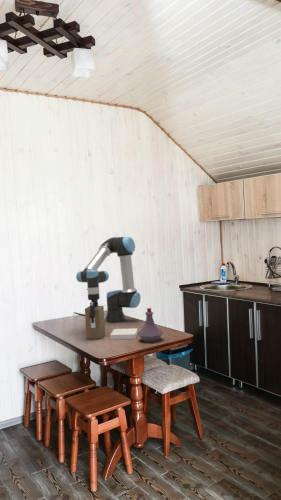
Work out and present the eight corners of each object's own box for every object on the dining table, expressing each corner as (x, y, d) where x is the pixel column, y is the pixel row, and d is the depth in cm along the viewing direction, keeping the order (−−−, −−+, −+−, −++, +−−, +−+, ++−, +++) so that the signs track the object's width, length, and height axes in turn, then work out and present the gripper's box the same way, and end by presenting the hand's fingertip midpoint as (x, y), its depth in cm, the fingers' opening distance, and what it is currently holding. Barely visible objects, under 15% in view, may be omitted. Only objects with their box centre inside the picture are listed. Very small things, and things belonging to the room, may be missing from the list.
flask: (169, 339, 272) (167, 307, 271) (150, 345, 261) (149, 312, 260) (150, 335, 284) (148, 305, 283) (132, 341, 273) (130, 309, 272)
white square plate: (114, 333, 295) (113, 329, 295) (137, 332, 293) (137, 328, 293) (110, 339, 279) (110, 335, 279) (135, 338, 277) (135, 334, 277)
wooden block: (101, 339, 282) (99, 308, 281) (86, 338, 284) (84, 308, 283) (105, 335, 292) (103, 305, 291) (91, 335, 294) (89, 305, 293)
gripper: (91, 290, 299) (93, 321, 300) (83, 296, 274) (85, 329, 275) (102, 290, 298) (104, 321, 299) (95, 296, 274) (97, 329, 275)
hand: (95, 325), depth 287 cm, fingers open, 13 cm apart
